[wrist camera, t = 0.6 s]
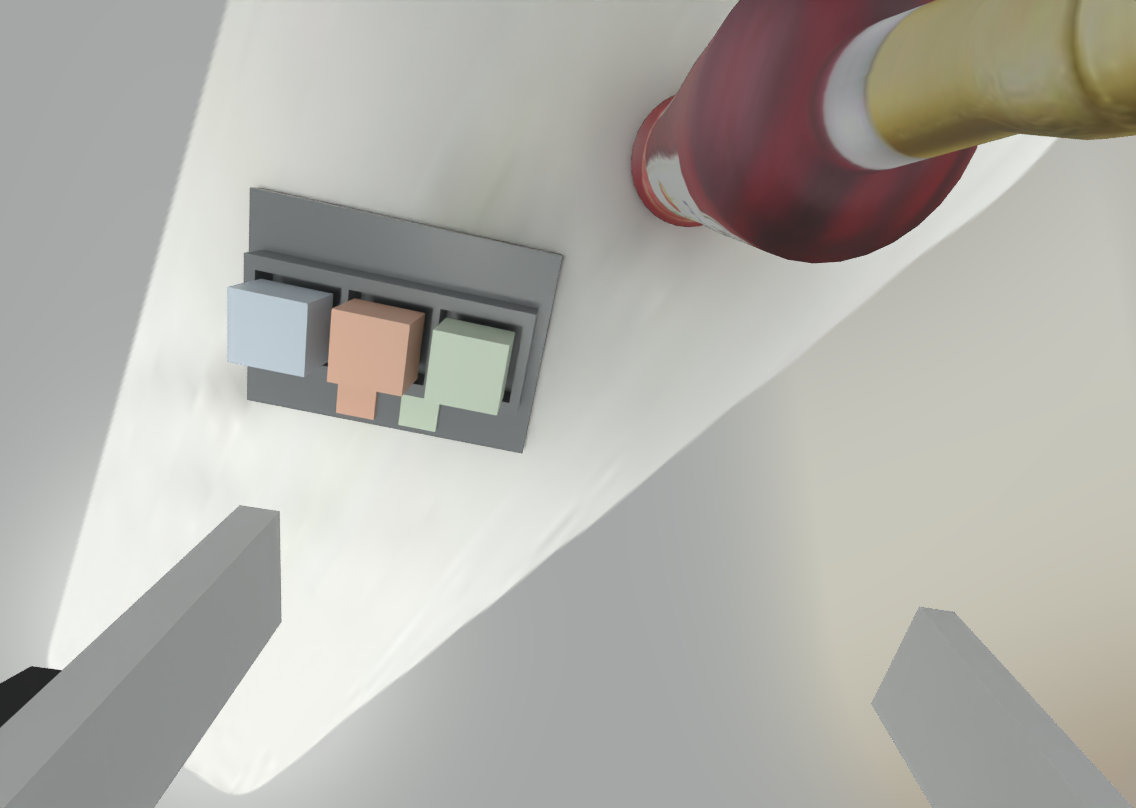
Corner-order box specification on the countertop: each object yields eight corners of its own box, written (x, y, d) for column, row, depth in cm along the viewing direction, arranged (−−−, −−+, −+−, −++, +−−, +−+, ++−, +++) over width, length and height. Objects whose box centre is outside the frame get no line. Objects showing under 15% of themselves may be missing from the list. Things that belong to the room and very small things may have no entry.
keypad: (259, 187, 32) (229, 186, 29) (562, 254, 33) (562, 259, 30) (255, 394, 36) (229, 410, 34) (523, 447, 38) (519, 467, 35)
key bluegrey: (261, 278, 31) (227, 286, 28) (333, 293, 31) (307, 303, 28) (259, 346, 32) (227, 361, 29) (328, 361, 32) (304, 377, 29)
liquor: (610, 213, 32) (780, 263, 6) (645, 74, 30) (1181, -846, 4) (729, 242, 33) (1355, 406, 7) (772, 108, 30) (2038, -473, 4)
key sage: (446, 317, 31) (433, 329, 28) (515, 332, 32) (509, 345, 29) (437, 382, 33) (423, 401, 30) (503, 396, 33) (496, 415, 30)
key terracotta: (354, 298, 31) (331, 308, 28) (425, 313, 31) (409, 324, 28) (349, 365, 32) (326, 381, 29) (417, 378, 33) (401, 396, 30)
